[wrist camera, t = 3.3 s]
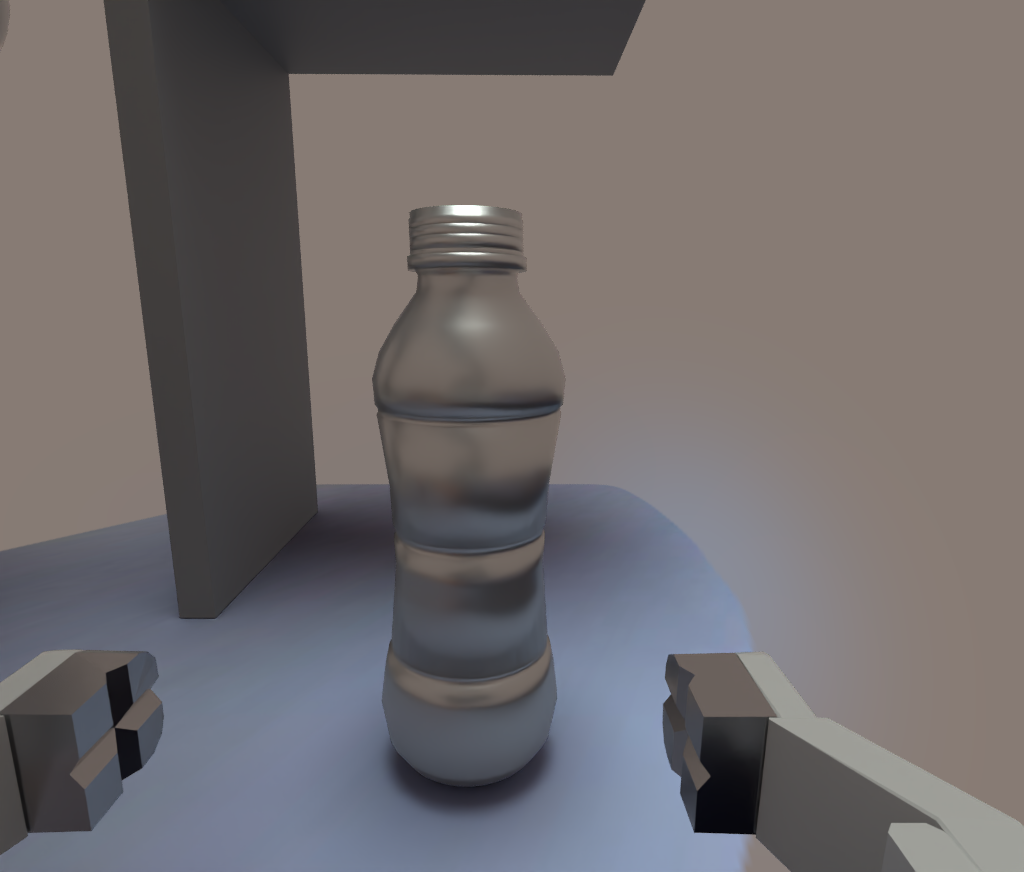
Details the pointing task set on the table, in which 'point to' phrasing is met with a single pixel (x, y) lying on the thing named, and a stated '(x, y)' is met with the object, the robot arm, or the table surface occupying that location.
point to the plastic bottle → (468, 501)
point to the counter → (269, 228)
